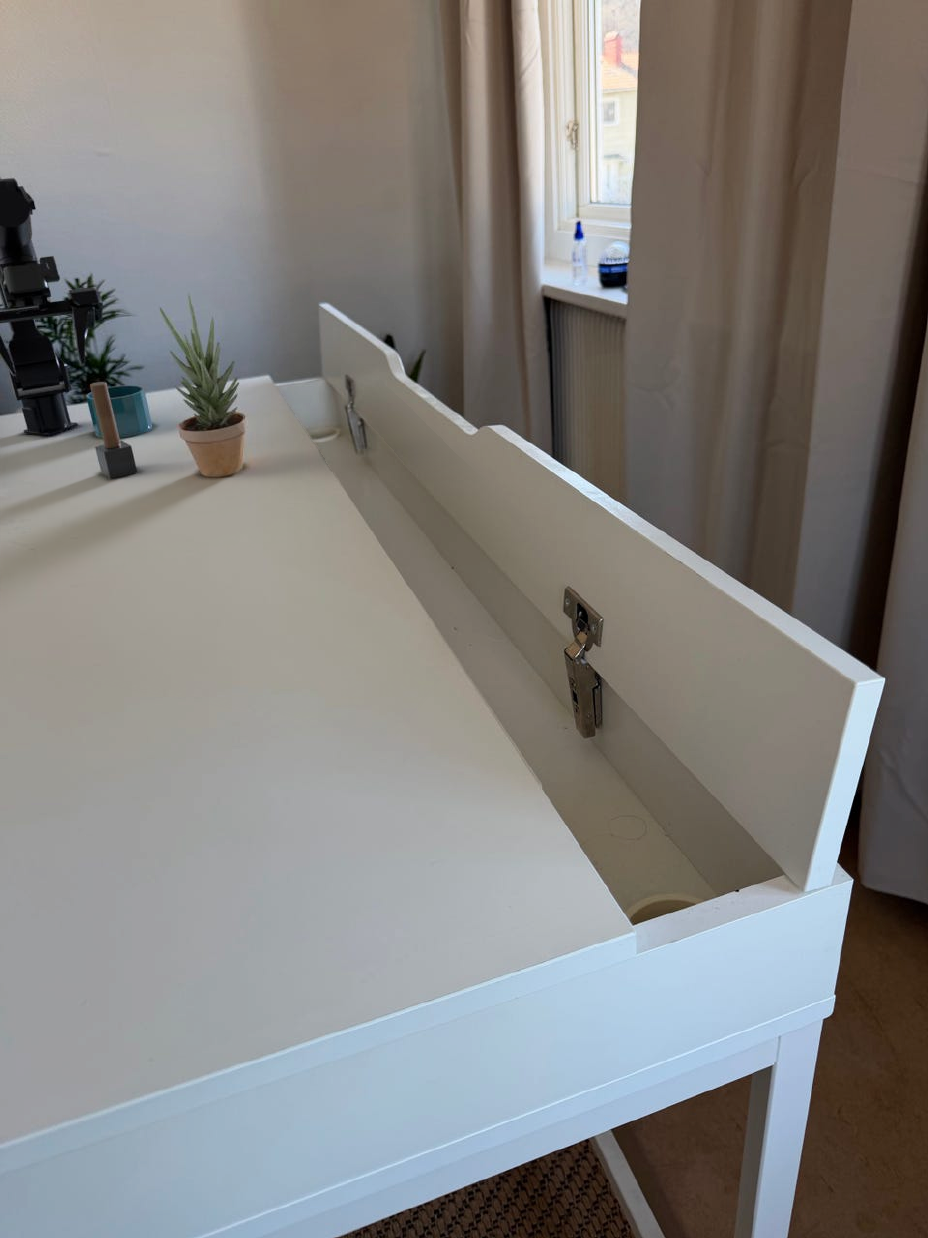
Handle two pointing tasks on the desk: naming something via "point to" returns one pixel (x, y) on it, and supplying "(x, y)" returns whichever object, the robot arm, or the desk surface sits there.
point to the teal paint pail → (125, 410)
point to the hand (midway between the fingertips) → (49, 369)
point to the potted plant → (209, 406)
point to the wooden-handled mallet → (111, 437)
